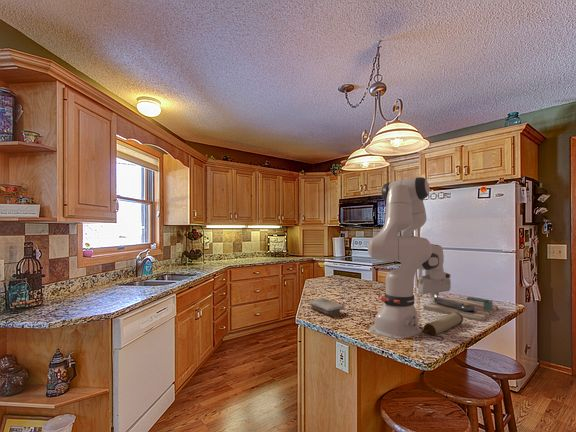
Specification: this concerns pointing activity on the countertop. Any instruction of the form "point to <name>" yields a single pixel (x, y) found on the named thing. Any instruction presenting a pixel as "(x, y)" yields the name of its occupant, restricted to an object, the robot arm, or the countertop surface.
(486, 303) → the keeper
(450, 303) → the lever
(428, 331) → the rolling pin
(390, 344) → the countertop surface
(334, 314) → the packaged product
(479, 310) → the board
